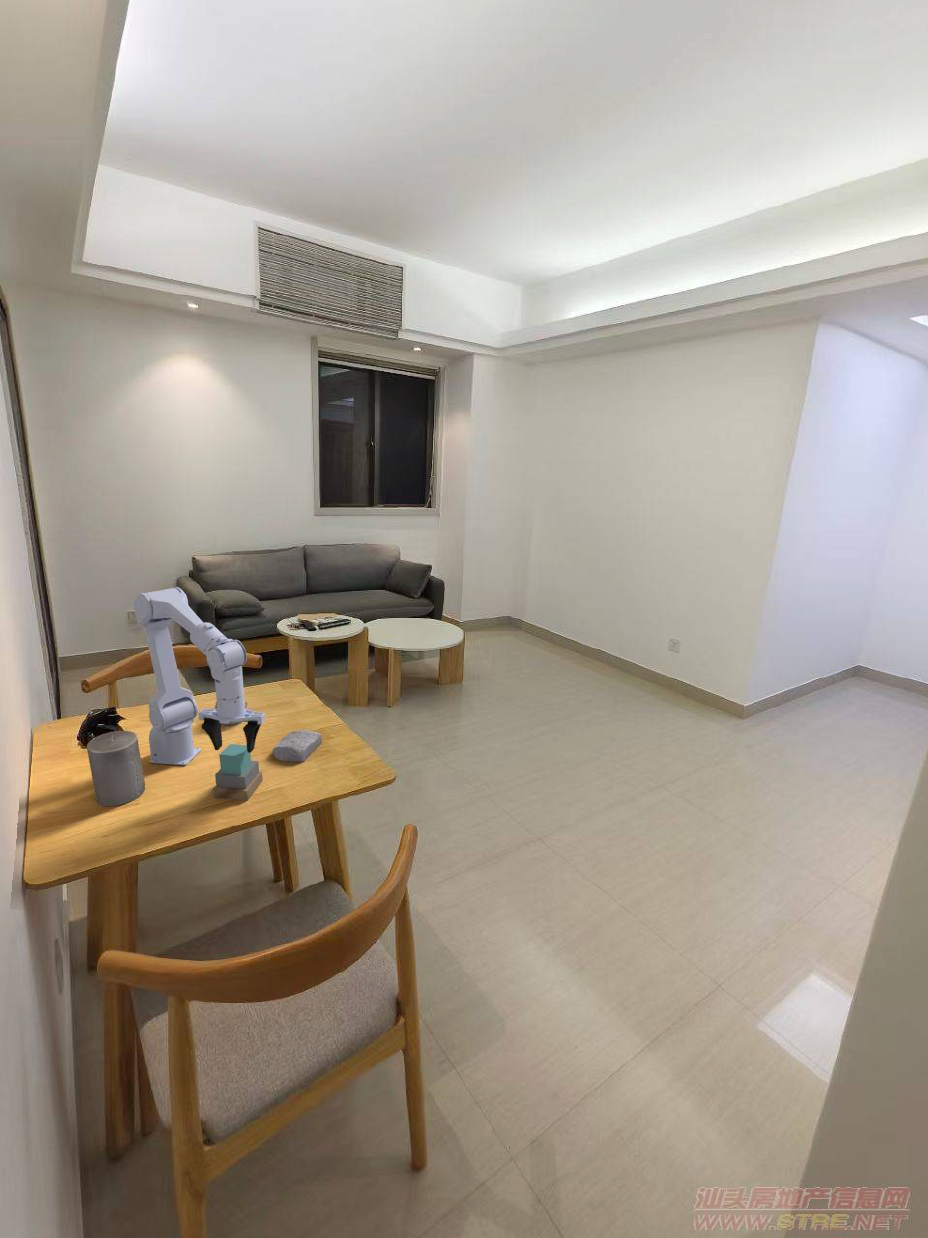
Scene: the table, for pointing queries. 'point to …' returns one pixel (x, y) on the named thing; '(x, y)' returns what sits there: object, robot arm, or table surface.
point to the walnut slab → (238, 790)
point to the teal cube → (235, 759)
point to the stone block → (297, 745)
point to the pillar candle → (116, 768)
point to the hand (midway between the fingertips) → (234, 749)
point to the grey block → (238, 777)
